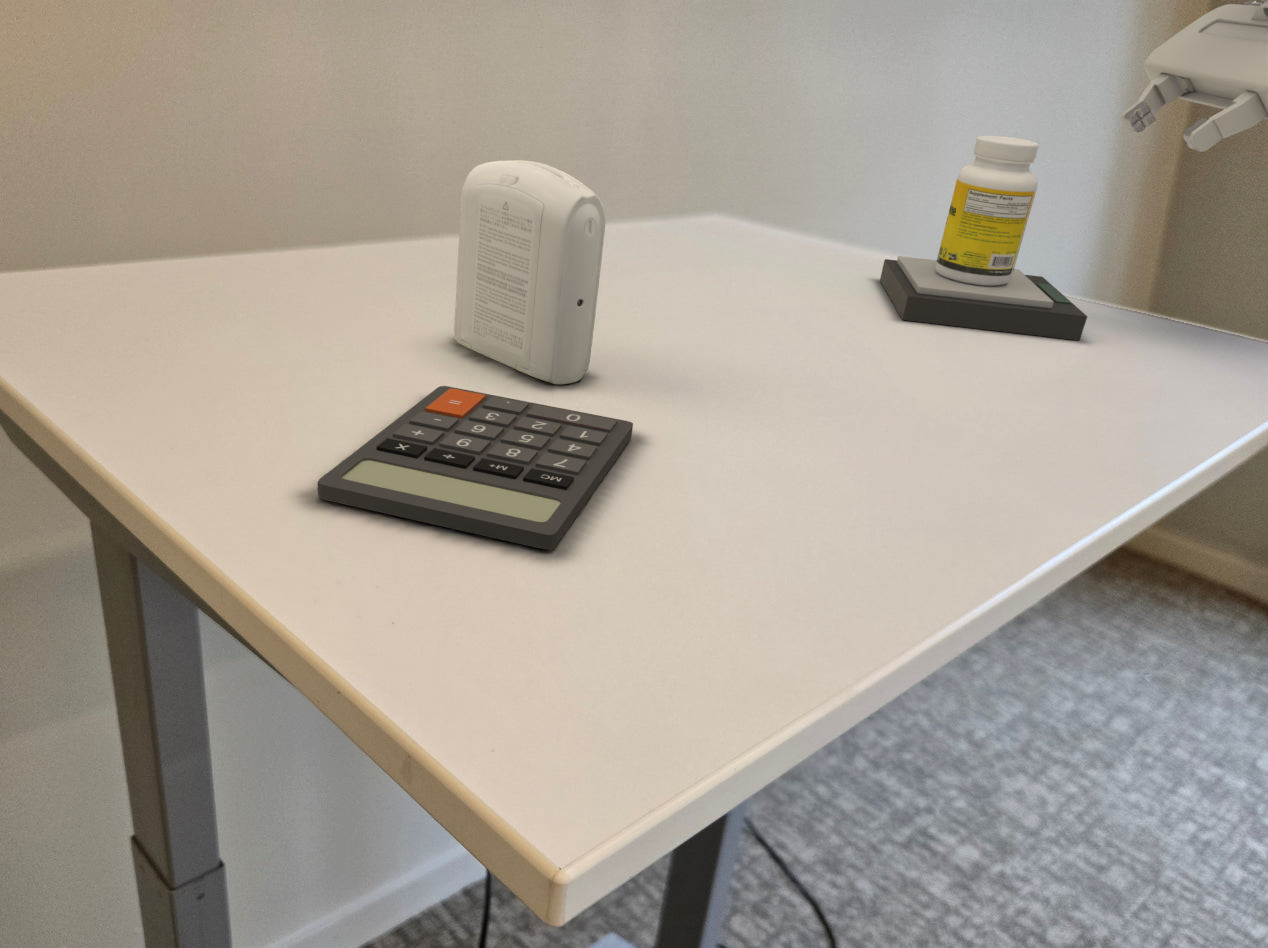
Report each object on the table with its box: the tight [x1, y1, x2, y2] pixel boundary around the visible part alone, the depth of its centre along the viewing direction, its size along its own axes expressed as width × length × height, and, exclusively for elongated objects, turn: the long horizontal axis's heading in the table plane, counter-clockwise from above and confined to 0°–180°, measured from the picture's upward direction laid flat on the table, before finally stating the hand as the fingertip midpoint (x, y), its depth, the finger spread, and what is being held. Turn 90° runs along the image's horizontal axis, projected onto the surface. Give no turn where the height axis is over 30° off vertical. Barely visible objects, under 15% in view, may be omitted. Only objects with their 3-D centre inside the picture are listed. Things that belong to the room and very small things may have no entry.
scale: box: [879, 255, 1088, 341], centre depth 91 cm, size 14×13×3 cm
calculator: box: [317, 385, 634, 551], centre depth 55 cm, size 12×1×15 cm
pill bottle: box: [936, 135, 1039, 286], centre depth 88 cm, size 6×6×11 cm
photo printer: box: [453, 159, 607, 385], centre depth 67 cm, size 10×4×12 cm, turn 45°
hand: (1157, 134), depth 87 cm, fingers open, 8 cm apart
